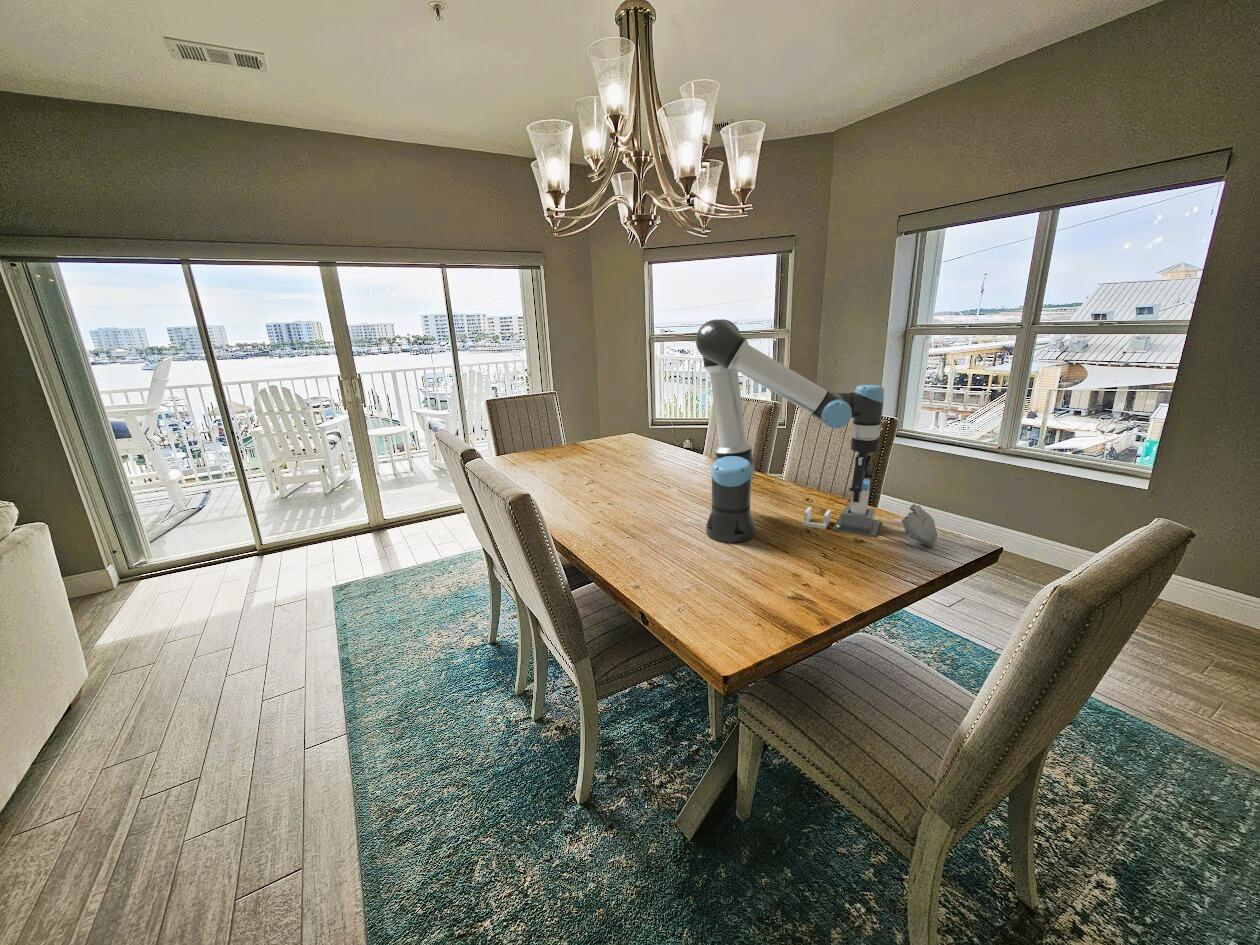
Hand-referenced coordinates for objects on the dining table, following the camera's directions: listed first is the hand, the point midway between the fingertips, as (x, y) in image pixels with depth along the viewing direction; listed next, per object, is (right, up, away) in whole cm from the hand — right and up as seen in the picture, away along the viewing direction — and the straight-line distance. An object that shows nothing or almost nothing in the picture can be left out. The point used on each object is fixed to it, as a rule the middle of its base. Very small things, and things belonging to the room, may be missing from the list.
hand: (859, 504), depth 149 cm
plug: (+1, -6, +2) cm, 7 cm away
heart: (+11, -11, -13) cm, 20 cm away
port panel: (0, -7, +2) cm, 7 cm away
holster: (-11, -6, +6) cm, 14 cm away
